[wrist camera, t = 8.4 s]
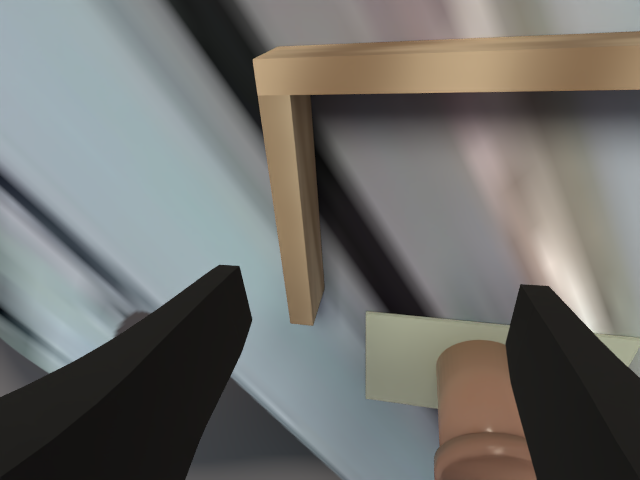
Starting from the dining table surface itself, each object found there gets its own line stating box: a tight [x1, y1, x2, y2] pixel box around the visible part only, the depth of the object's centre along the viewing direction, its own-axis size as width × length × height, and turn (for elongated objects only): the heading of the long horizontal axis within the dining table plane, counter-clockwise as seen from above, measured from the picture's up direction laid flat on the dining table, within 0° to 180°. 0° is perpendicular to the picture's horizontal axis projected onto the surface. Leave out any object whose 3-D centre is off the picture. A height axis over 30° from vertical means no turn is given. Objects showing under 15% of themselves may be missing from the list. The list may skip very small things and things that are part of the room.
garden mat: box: [366, 311, 640, 409], centre depth 24 cm, size 14×8×1 cm, turn 94°
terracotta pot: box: [434, 340, 537, 480], centre depth 21 cm, size 6×6×6 cm
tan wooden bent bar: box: [253, 31, 640, 326], centre depth 16 cm, size 21×13×3 cm, turn 94°
